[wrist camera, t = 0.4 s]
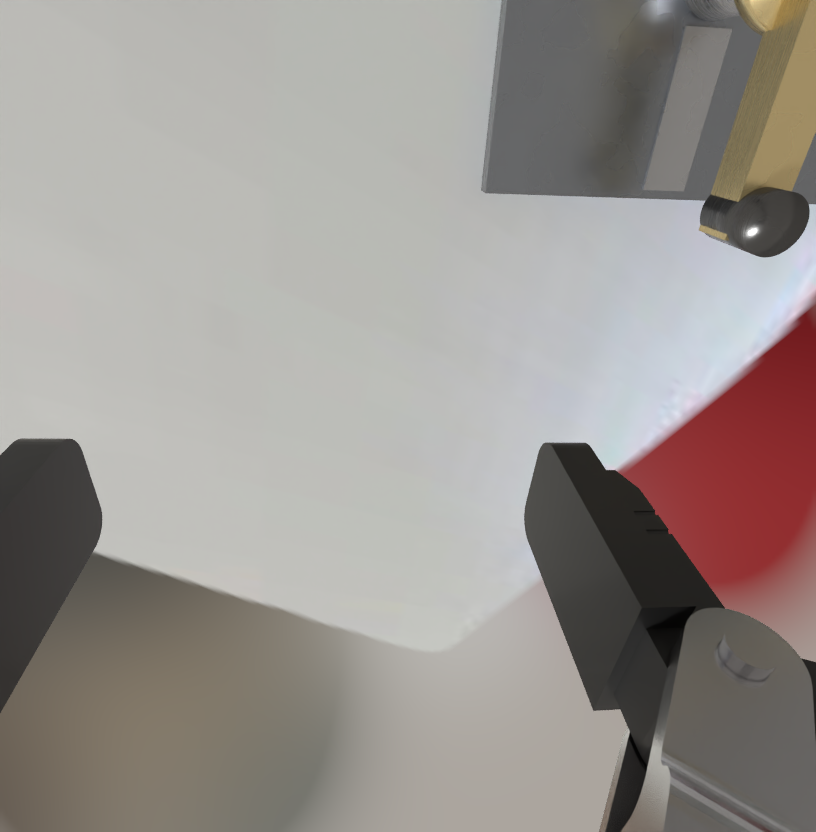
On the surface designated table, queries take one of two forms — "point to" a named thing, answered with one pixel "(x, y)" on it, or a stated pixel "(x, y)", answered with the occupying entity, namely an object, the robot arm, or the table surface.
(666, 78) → the lock base
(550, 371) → the table surface
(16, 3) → the table surface
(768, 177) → the brass lever handle
